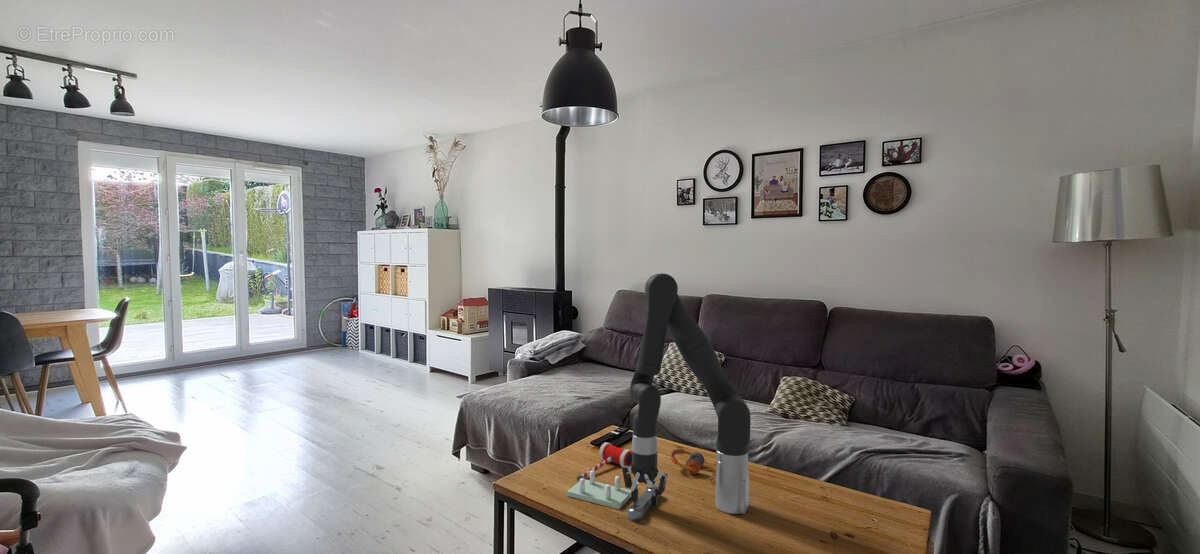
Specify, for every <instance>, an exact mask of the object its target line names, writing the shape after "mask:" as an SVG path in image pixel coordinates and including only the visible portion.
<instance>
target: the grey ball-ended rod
mask: <svg viewBox="0 0 1200 554" xmlns="http://www.w3.org/2000/svg"><path fill="white" fill-rule="evenodd" d="M657 487H658V489H659V486H657ZM651 496H652V493H651V490H650V489H649V487H648V486H647V487H646V488H645V491H644V492H643V493H642V494H641V496H639V497H638V500H637V501H636V502H635V503H632V505H629V506H628V507H627V513H626V514H627V515H626V517H627V519H628V520H629V521H631V522H634V523H635V522H637V523H638V522H640V521H642V520H643V518H644V515H645V513H646V512H648V510H649V509H650V508H651ZM660 499H661V495H658V500H660Z"/></svg>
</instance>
